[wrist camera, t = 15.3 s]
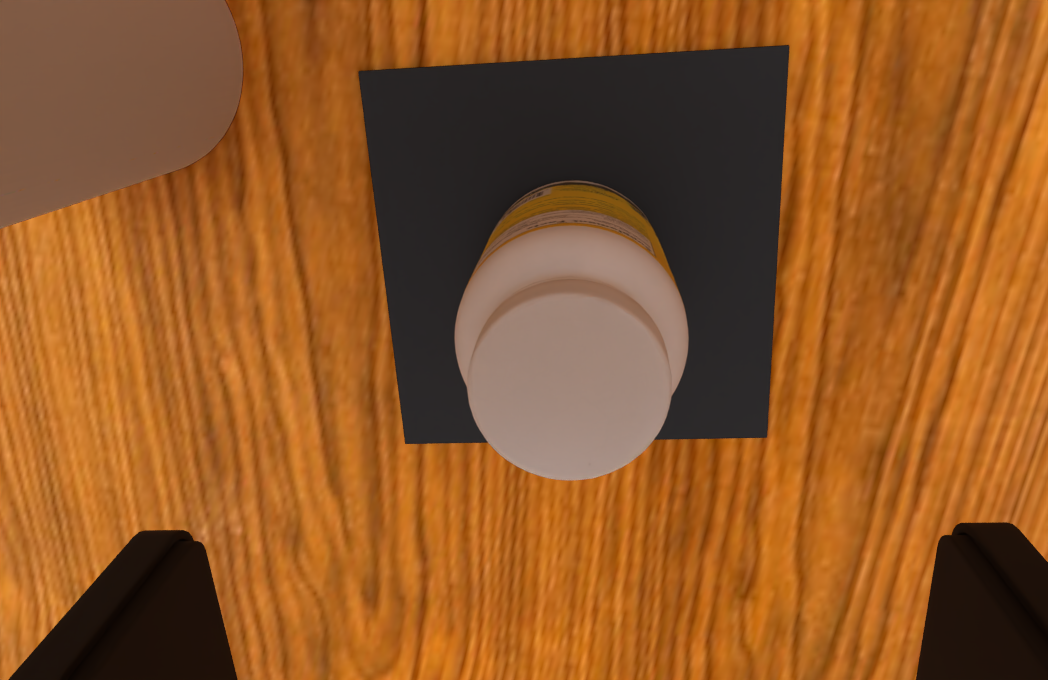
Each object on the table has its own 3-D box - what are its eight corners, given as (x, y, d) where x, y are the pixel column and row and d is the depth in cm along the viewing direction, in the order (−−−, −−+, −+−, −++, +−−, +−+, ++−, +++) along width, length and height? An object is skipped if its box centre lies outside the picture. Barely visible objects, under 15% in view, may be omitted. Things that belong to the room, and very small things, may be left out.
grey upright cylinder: (-42, 10, 27) (-492, -7, 15) (134, -136, 25) (-238, -278, 14) (117, 216, 29) (-177, 330, 18) (290, 96, 27) (82, 139, 16)
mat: (406, 441, 31) (405, 444, 31) (359, 71, 26) (358, 71, 26) (766, 435, 30) (767, 437, 30) (788, 45, 25) (789, 45, 25)
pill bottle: (625, 366, 29) (646, 544, 19) (466, 313, 29) (401, 465, 19) (689, 209, 27) (753, 315, 17) (518, 151, 27) (476, 222, 17)
